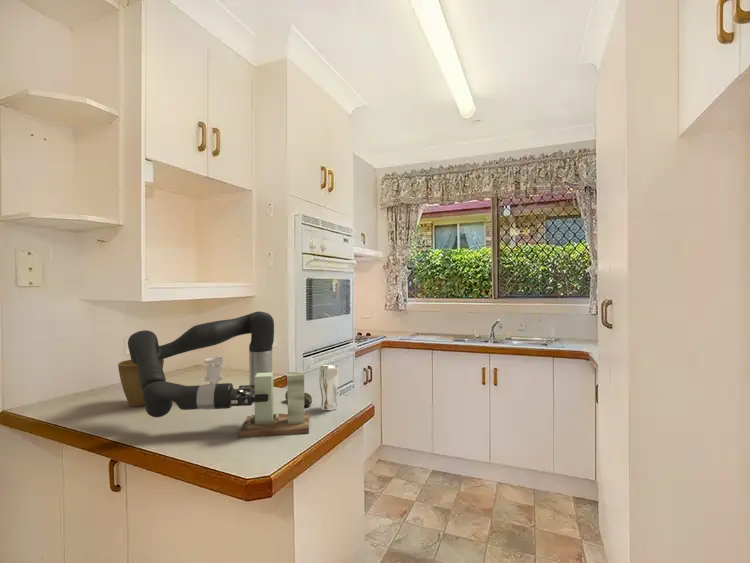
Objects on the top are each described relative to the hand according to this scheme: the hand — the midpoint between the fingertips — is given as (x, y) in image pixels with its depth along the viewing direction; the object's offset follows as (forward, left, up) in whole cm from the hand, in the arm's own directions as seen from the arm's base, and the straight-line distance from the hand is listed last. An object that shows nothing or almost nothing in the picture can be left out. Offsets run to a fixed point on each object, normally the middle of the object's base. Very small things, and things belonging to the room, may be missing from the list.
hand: (269, 393), depth 121 cm
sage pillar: (0, -2, -9) cm, 9 cm away
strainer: (-43, -27, -11) cm, 52 cm away
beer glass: (-15, +19, -11) cm, 27 cm away
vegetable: (-22, +8, -11) cm, 26 cm away
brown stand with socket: (0, +2, -10) cm, 11 cm away
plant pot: (-33, -50, -11) cm, 61 cm away
